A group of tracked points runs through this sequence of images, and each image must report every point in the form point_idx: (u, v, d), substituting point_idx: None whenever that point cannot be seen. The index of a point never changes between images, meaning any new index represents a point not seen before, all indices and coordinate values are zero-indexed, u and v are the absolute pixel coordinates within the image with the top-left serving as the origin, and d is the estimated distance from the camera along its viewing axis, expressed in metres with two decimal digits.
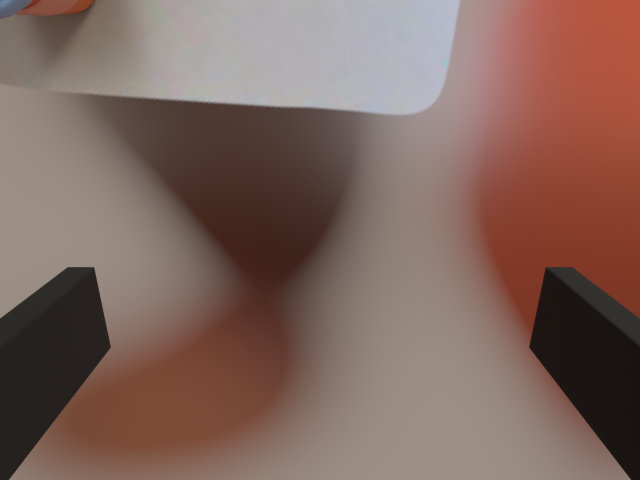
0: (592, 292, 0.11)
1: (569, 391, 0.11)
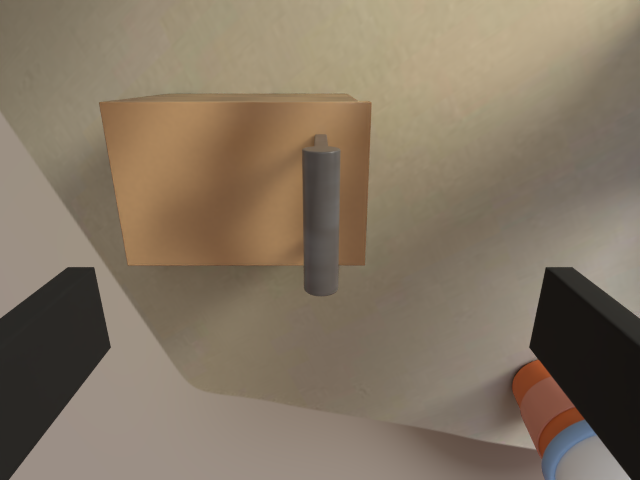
0: (592, 292, 0.11)
1: (569, 391, 0.11)
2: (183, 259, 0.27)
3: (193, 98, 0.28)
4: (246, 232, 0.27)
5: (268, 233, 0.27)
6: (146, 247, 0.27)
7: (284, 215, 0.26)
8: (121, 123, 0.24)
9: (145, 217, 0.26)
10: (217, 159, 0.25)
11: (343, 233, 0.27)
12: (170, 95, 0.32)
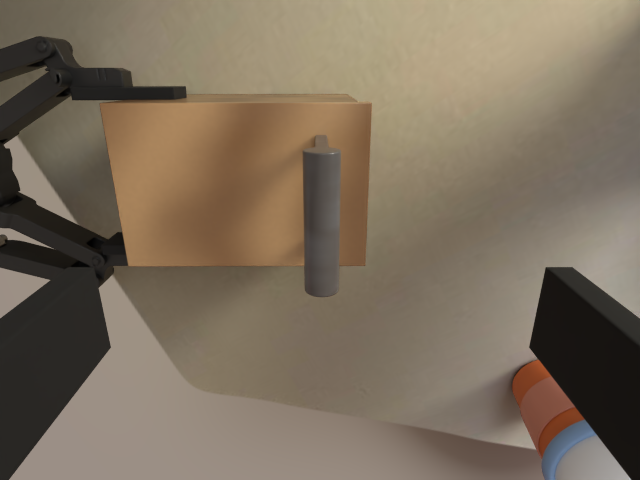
0: (592, 292, 0.11)
1: (569, 391, 0.11)
2: (184, 260, 0.27)
3: (193, 99, 0.28)
4: (247, 233, 0.27)
5: (268, 234, 0.27)
6: (147, 248, 0.27)
7: (284, 216, 0.26)
8: (121, 124, 0.24)
9: (146, 218, 0.26)
10: (217, 160, 0.25)
11: (343, 234, 0.27)
12: None
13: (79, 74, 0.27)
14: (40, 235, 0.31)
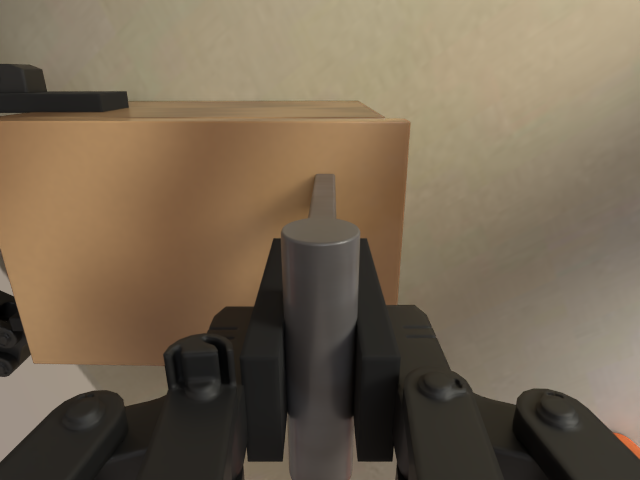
0: (361, 255, 0.13)
1: None
2: (115, 356, 0.18)
3: (133, 111, 0.18)
4: (209, 320, 0.17)
5: None
6: (59, 339, 0.18)
7: None
8: (2, 155, 0.15)
9: (53, 296, 0.17)
10: (159, 211, 0.16)
11: None
12: None
13: None
14: None
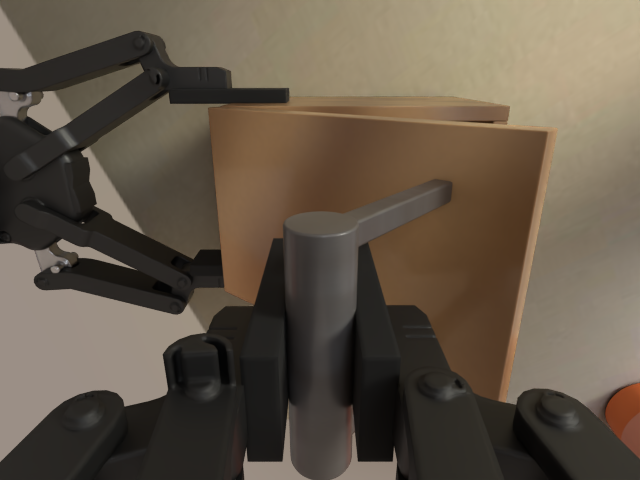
0: (361, 255, 0.13)
1: None
2: None
3: (304, 102, 0.24)
4: None
5: None
6: (239, 278, 0.23)
7: None
8: (223, 133, 0.20)
9: (239, 244, 0.22)
10: (306, 192, 0.18)
11: (463, 352, 0.15)
12: None
13: (178, 74, 0.24)
14: (121, 254, 0.27)
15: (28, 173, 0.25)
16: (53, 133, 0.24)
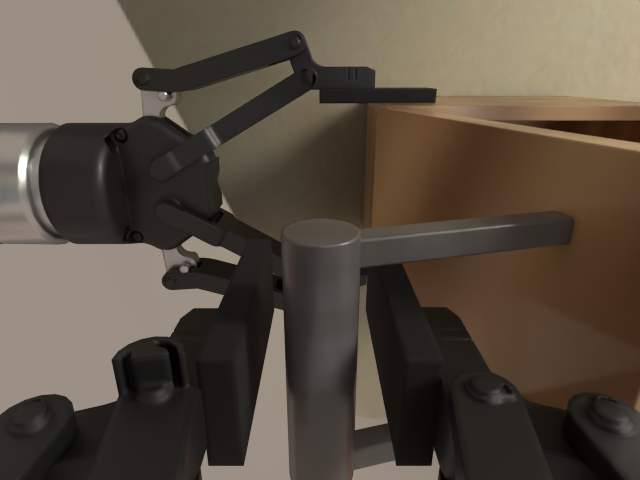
0: None
1: (373, 341, 0.13)
2: None
3: (451, 102, 0.24)
4: None
5: None
6: None
7: (483, 334, 0.14)
8: (384, 133, 0.20)
9: None
10: (435, 204, 0.16)
11: None
12: None
13: (327, 74, 0.24)
14: None
15: (173, 173, 0.25)
16: (201, 133, 0.24)
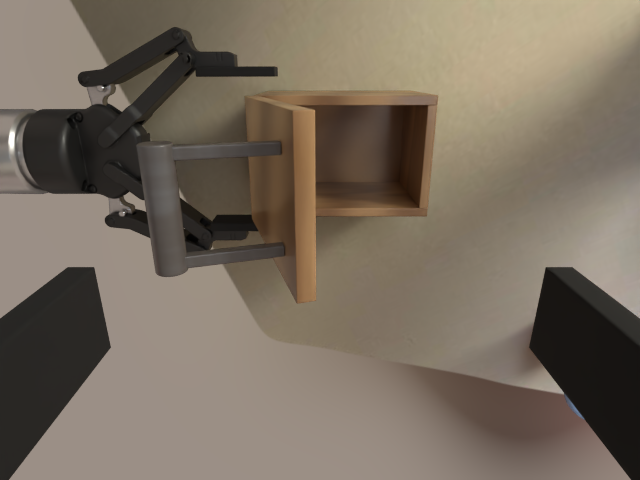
0: (592, 292, 0.11)
1: (569, 391, 0.11)
2: (259, 228, 0.33)
3: None
4: (268, 221, 0.29)
5: (272, 229, 0.28)
6: (254, 209, 0.35)
7: (275, 216, 0.26)
8: (247, 112, 0.32)
9: (253, 186, 0.34)
10: None
11: (289, 256, 0.23)
12: None
13: (201, 56, 0.35)
14: None
15: (113, 142, 0.37)
16: (126, 110, 0.36)
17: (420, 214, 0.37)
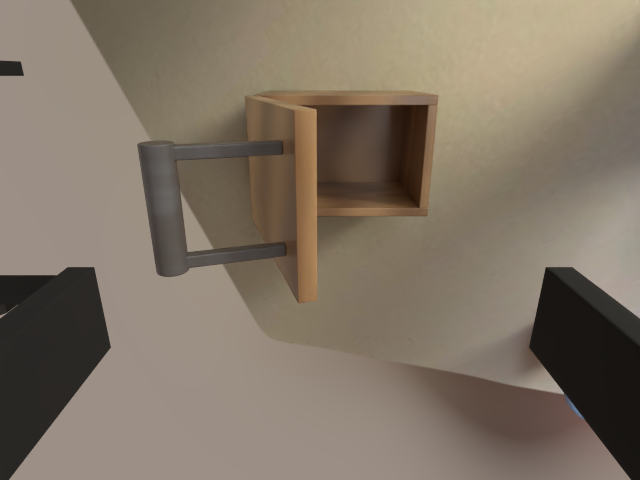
0: (592, 292, 0.11)
1: (569, 391, 0.11)
2: (259, 227, 0.33)
3: None
4: (268, 221, 0.29)
5: (273, 228, 0.28)
6: (254, 209, 0.35)
7: (276, 216, 0.26)
8: (247, 112, 0.32)
9: (253, 186, 0.34)
10: None
11: (290, 256, 0.23)
12: None
13: None
14: None
15: None
16: None
17: (420, 214, 0.37)
